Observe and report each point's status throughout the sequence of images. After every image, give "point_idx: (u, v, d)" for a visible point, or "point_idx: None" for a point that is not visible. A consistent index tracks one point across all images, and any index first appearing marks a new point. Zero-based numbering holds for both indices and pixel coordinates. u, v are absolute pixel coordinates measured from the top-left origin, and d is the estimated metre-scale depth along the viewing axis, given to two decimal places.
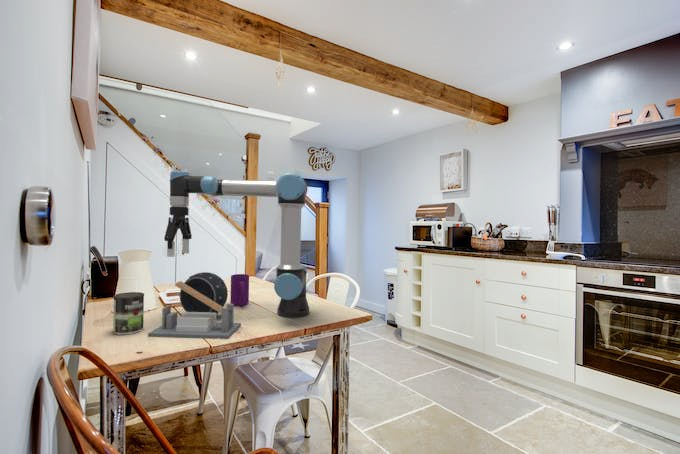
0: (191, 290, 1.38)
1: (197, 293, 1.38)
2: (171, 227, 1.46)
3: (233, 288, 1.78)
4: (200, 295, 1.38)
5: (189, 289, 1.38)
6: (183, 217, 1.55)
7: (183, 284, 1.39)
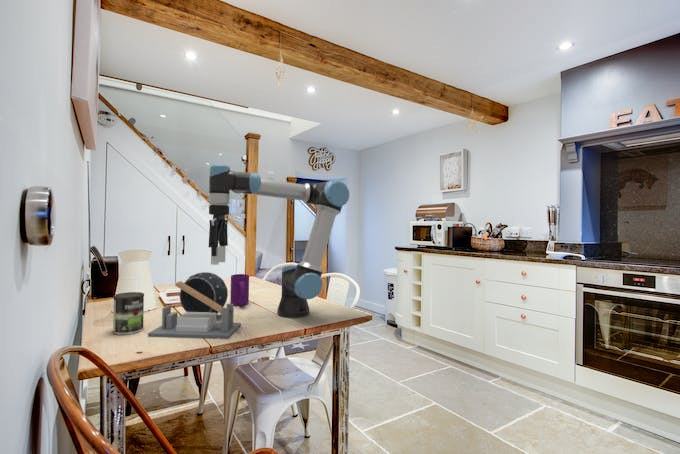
0: (191, 290, 1.38)
1: (197, 293, 1.38)
2: (214, 232, 1.31)
3: (233, 288, 1.78)
4: (200, 295, 1.38)
5: (189, 289, 1.38)
6: (223, 216, 1.40)
7: (183, 284, 1.39)
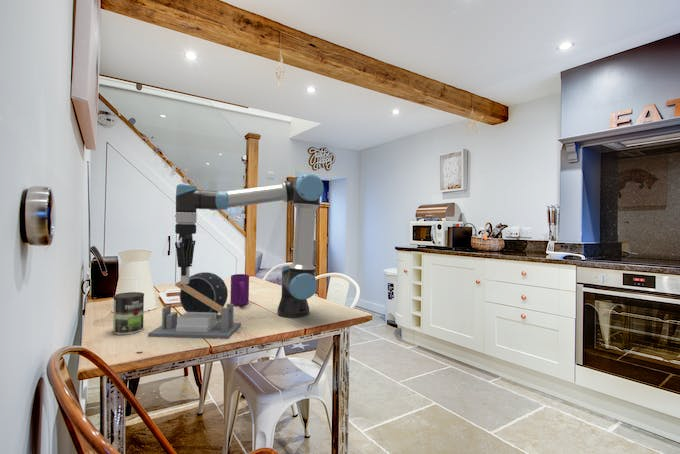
0: (191, 290, 1.38)
1: (197, 293, 1.38)
2: (181, 253, 1.33)
3: (233, 288, 1.78)
4: (200, 295, 1.38)
5: (189, 289, 1.38)
6: (191, 234, 1.40)
7: (183, 284, 1.39)
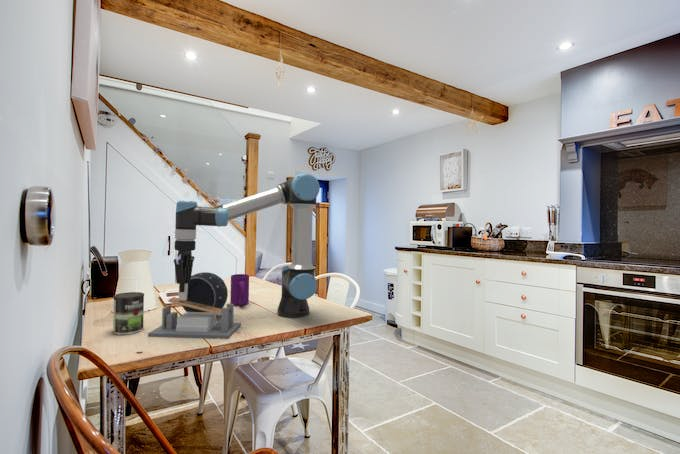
0: (186, 301, 1.38)
1: (193, 303, 1.39)
2: (180, 270, 1.33)
3: (233, 288, 1.78)
4: (196, 304, 1.38)
5: (184, 301, 1.38)
6: None
7: (177, 299, 1.39)
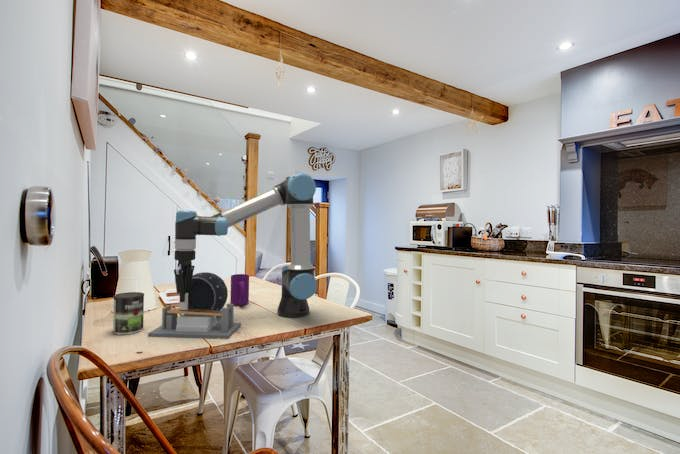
0: (185, 310, 1.38)
1: (191, 310, 1.39)
2: (180, 280, 1.33)
3: (233, 288, 1.78)
4: (195, 310, 1.39)
5: (182, 310, 1.38)
6: (190, 259, 1.41)
7: (175, 309, 1.39)
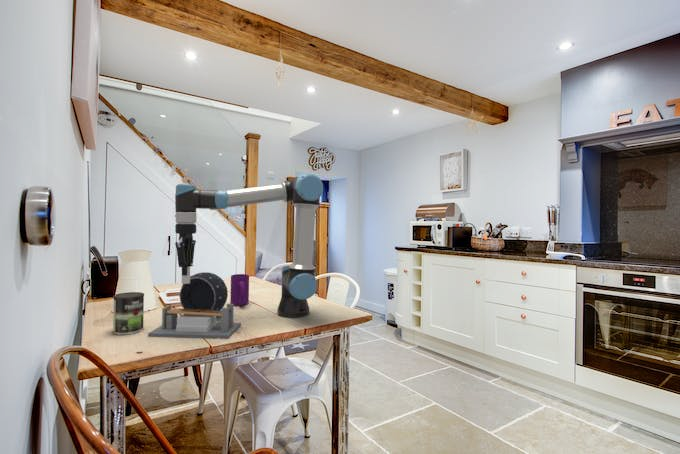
0: (185, 310, 1.38)
1: (191, 310, 1.39)
2: (182, 253, 1.33)
3: (233, 288, 1.78)
4: (195, 310, 1.39)
5: (182, 310, 1.38)
6: (191, 233, 1.40)
7: (175, 309, 1.39)
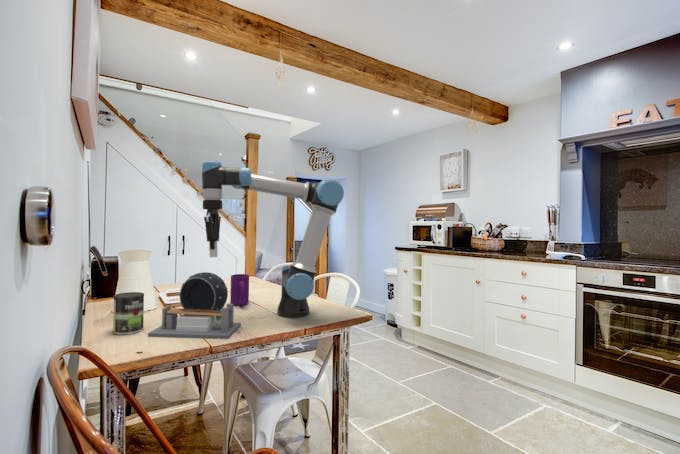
0: (185, 310, 1.38)
1: (191, 310, 1.39)
2: (210, 227, 1.39)
3: (233, 288, 1.78)
4: (195, 310, 1.39)
5: (182, 310, 1.38)
6: (217, 210, 1.47)
7: (175, 309, 1.39)
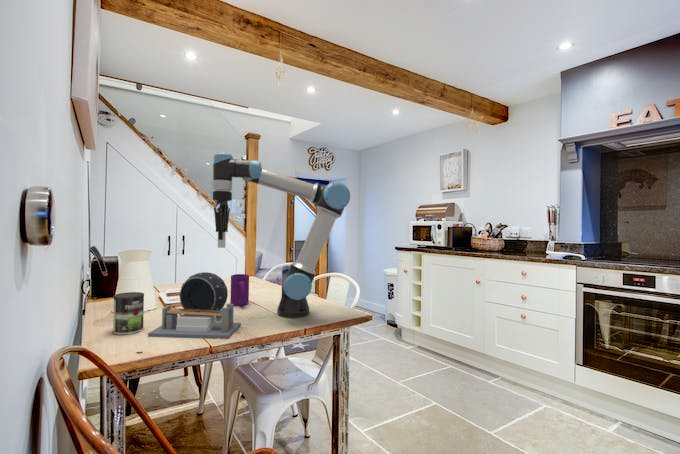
0: (185, 310, 1.38)
1: (191, 310, 1.39)
2: (219, 218, 1.42)
3: (233, 288, 1.78)
4: (195, 310, 1.39)
5: (182, 310, 1.38)
6: None
7: (175, 309, 1.39)
